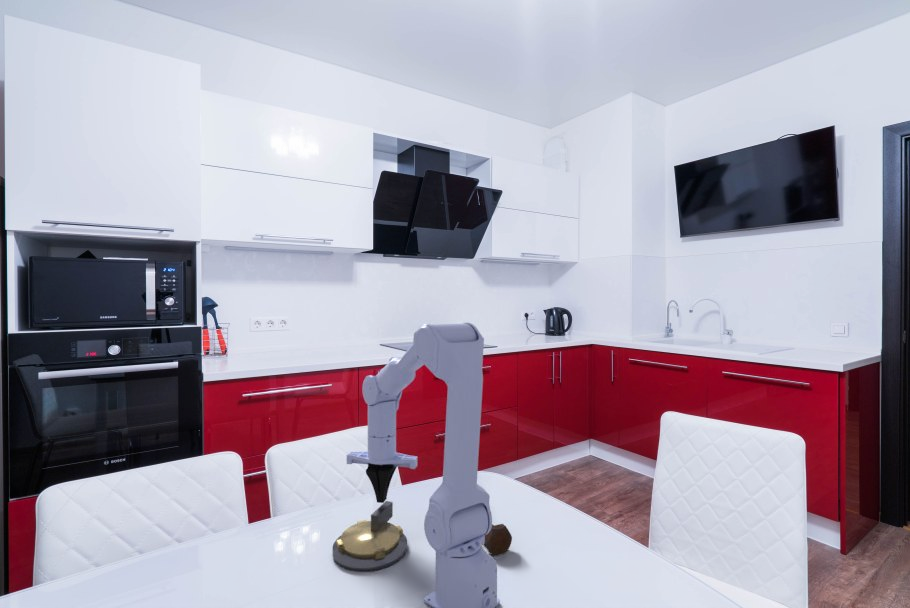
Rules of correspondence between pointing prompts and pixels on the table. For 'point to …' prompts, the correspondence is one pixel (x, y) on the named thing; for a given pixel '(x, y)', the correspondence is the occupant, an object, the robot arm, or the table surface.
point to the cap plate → (370, 563)
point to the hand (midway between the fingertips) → (381, 500)
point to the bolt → (498, 540)
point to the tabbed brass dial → (371, 535)
